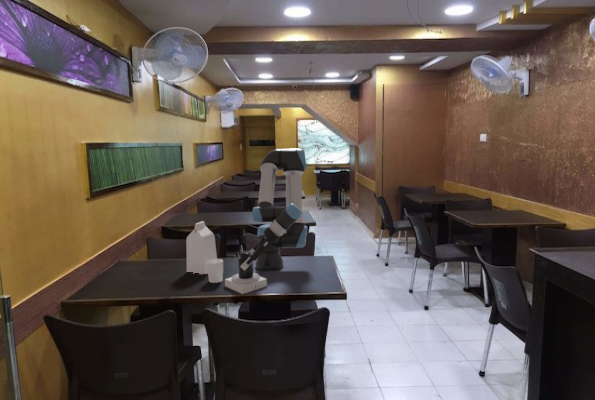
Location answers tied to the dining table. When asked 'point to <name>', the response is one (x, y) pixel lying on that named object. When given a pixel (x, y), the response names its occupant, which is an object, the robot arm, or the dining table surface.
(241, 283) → the dial scale
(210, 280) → the white cup
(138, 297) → the dining table surface
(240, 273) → the supplement bottle
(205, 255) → the milk
